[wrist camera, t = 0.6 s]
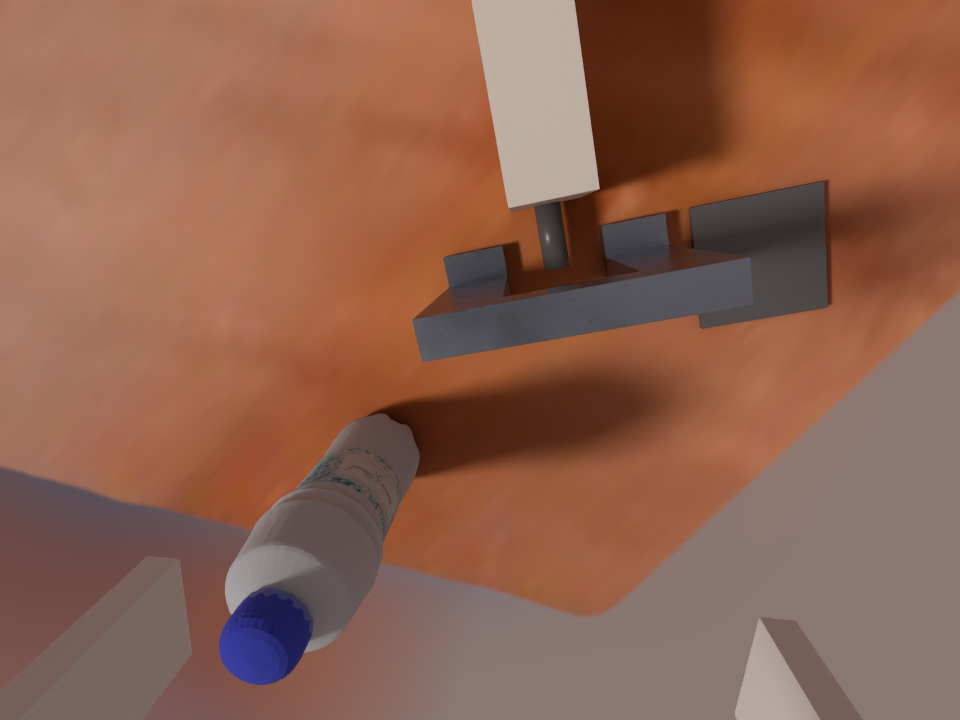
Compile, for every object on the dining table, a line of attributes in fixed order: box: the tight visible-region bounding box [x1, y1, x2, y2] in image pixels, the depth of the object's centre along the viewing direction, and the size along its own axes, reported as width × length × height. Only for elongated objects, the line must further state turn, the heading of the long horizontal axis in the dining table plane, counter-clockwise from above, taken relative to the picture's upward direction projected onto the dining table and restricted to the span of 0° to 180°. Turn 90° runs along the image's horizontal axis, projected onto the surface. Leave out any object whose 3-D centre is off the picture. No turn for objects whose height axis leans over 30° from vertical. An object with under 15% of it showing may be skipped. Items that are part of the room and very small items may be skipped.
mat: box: [689, 181, 828, 329], centre depth 33 cm, size 8×8×1 cm
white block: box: [472, 0, 600, 271], centre depth 28 cm, size 20×4×9 cm, turn 11°
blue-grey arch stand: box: [413, 213, 753, 362], centre depth 28 cm, size 6×14×13 cm, turn 101°
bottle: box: [219, 413, 420, 685], centre depth 29 cm, size 7×7×20 cm
